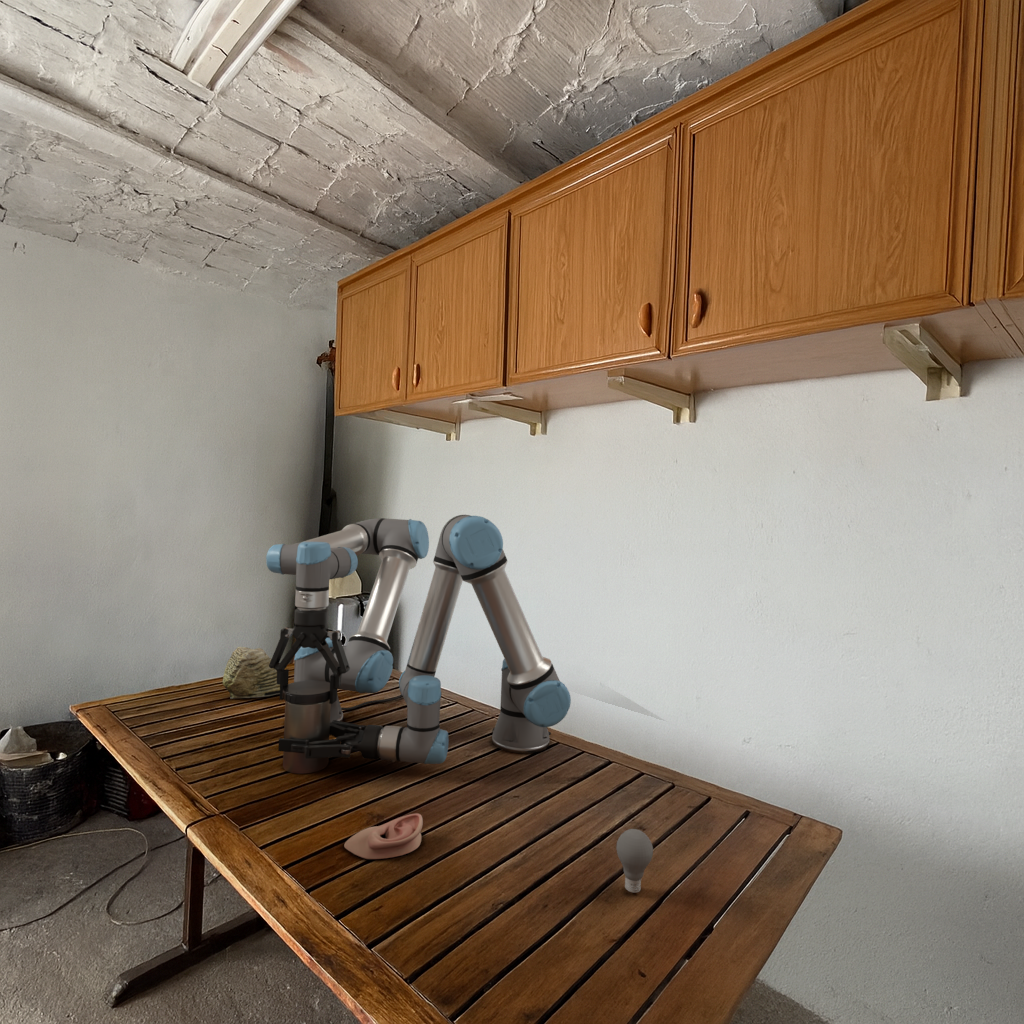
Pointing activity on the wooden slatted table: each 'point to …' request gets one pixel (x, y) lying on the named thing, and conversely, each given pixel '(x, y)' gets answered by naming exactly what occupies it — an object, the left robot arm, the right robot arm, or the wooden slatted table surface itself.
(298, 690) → the lid
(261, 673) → the fossil
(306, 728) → the jar
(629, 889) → the light bulb
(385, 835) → the anatomical model
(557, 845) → the wooden slatted table surface
